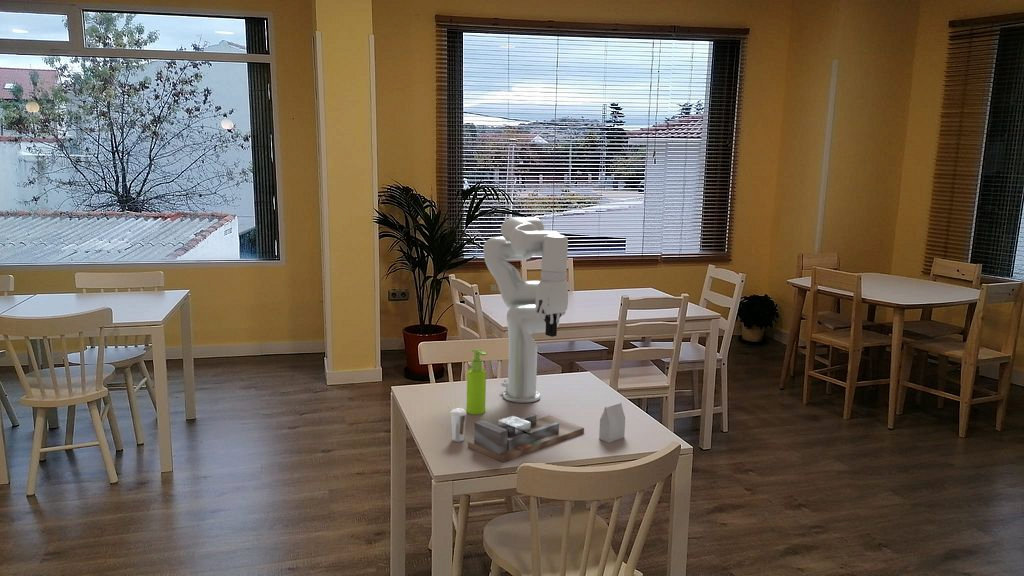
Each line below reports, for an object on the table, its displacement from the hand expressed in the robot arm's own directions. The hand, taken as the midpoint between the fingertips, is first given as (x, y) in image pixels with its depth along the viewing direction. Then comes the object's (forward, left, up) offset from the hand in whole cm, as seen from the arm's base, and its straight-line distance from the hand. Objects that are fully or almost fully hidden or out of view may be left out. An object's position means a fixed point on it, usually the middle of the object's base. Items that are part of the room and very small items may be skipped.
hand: (550, 335), depth 224 cm
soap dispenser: (-19, -13, -27) cm, 35 cm away
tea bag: (+23, +2, -27) cm, 35 cm away
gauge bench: (+8, -17, -26) cm, 33 cm away
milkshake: (-5, -33, -27) cm, 42 cm away
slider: (+10, -24, -25) cm, 36 cm away
